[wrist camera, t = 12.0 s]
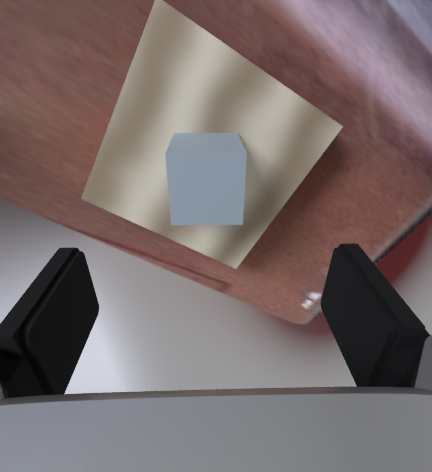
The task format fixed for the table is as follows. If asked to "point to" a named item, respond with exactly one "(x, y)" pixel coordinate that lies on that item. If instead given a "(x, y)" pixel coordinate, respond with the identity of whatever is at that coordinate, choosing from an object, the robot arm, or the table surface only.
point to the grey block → (206, 178)
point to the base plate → (203, 121)
